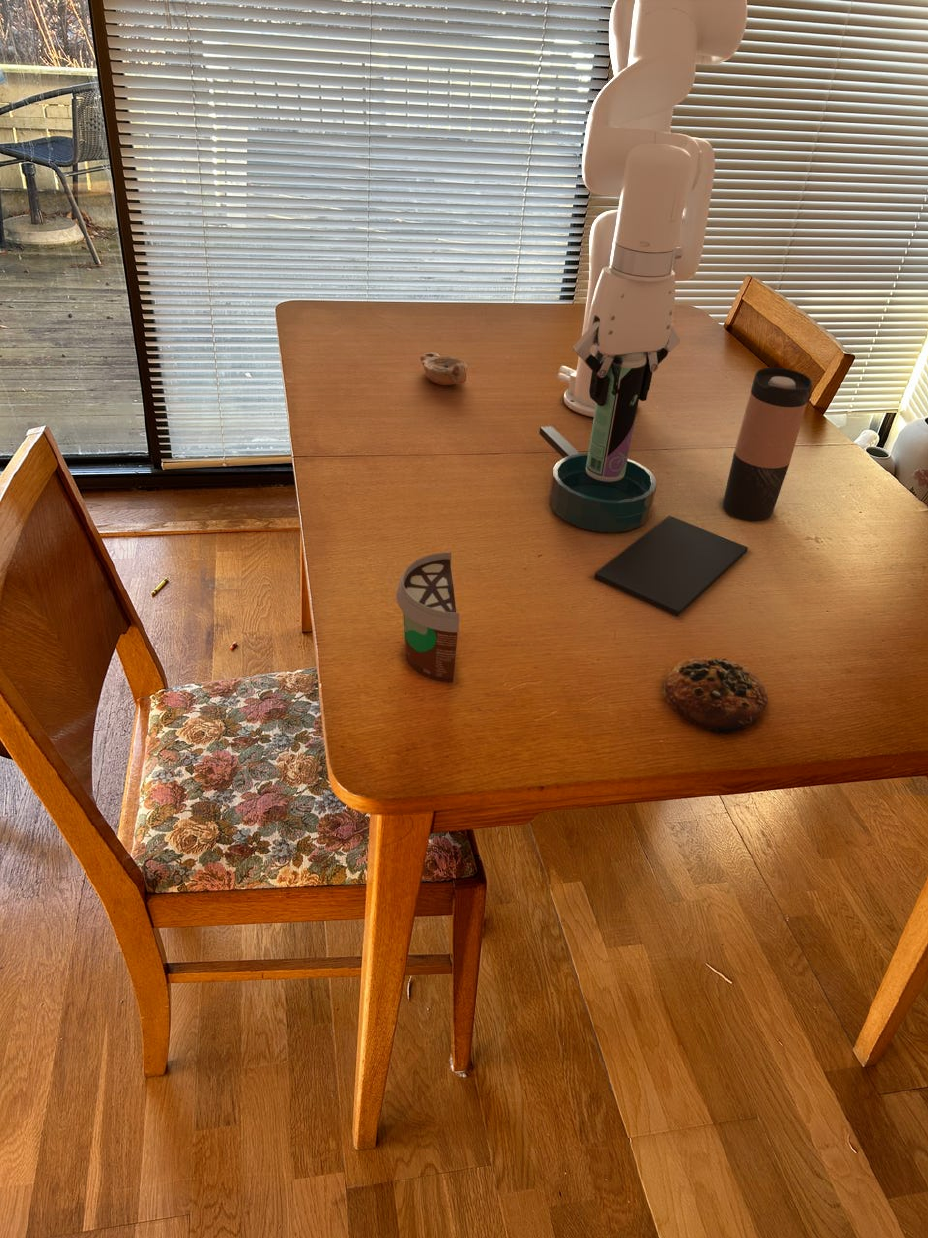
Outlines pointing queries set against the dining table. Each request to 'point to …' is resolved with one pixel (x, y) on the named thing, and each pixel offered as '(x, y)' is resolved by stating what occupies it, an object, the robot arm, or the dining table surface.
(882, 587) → the dining table surface
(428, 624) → the food container
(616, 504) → the pan
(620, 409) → the spray can
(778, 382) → the travel mug
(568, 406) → the robot arm
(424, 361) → the oil lamp
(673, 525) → the mat
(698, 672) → the bread roll
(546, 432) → the pan handle
